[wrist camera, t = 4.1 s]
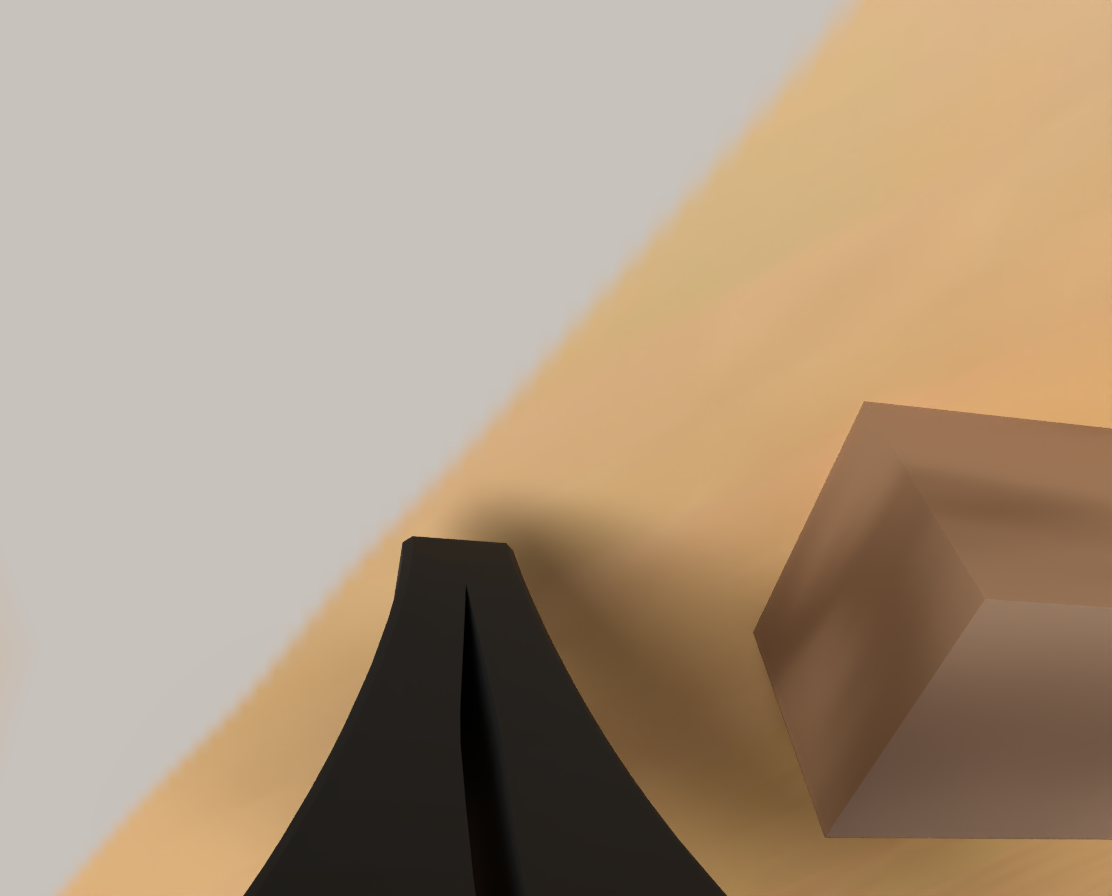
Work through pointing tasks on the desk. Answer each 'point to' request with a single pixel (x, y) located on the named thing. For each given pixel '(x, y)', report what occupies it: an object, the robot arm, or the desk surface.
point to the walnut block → (952, 630)
